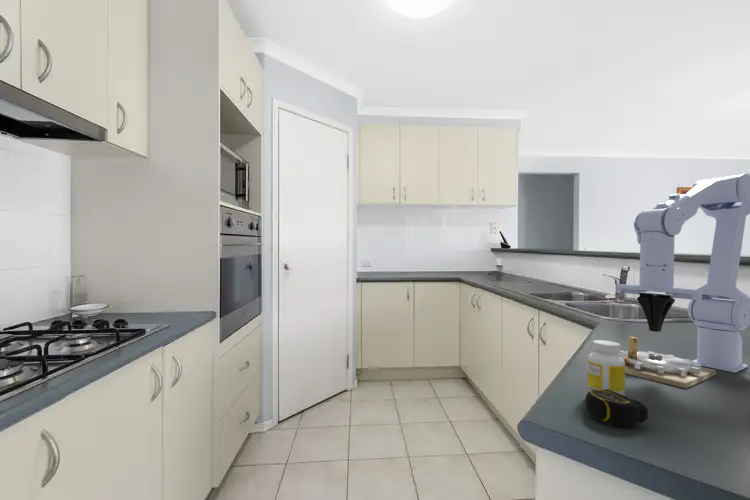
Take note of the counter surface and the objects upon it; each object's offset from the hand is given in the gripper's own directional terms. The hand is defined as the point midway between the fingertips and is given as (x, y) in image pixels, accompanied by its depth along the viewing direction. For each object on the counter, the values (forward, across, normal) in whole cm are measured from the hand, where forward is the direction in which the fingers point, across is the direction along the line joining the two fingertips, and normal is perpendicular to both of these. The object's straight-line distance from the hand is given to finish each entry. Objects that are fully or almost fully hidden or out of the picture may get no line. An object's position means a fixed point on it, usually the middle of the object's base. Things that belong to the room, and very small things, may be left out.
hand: (655, 330), depth 78 cm
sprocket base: (+9, -2, +5) cm, 11 cm away
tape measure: (+10, +6, -31) cm, 33 cm away
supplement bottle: (+10, +2, -24) cm, 26 cm away
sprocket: (+8, -2, +5) cm, 9 cm away
